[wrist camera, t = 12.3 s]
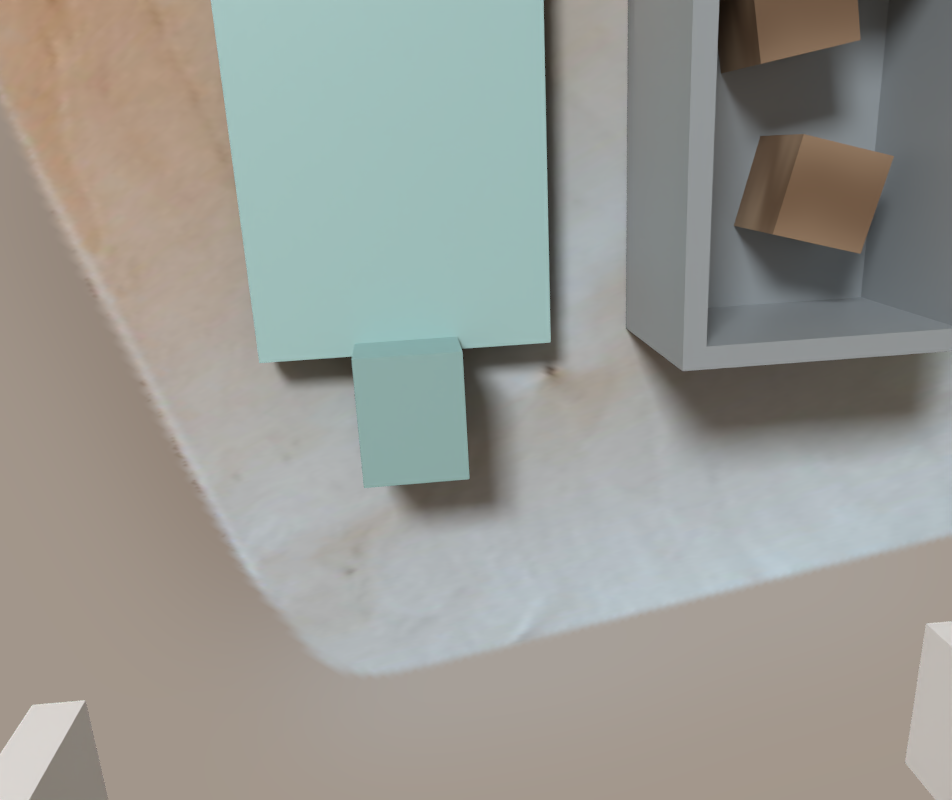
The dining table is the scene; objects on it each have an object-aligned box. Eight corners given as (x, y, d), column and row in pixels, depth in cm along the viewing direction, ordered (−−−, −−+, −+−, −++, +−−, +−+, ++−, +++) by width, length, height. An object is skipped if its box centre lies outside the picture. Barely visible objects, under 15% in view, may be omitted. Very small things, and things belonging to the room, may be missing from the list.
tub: (628, -93, 29) (697, -166, 22) (906, -101, 30) (1053, -174, 23) (625, 328, 34) (682, 371, 27) (866, 311, 35) (978, 349, 28)
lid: (206, -113, 28) (173, -161, 24) (530, -121, 29) (554, -169, 24) (280, 453, 34) (264, 496, 30) (544, 432, 35) (565, 471, 31)
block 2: (760, 135, 31) (803, 134, 28) (841, 155, 32) (894, 155, 28) (734, 225, 32) (772, 234, 29) (813, 243, 33) (860, 253, 29)
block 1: (708, -28, 29) (748, -51, 26) (800, -49, 29) (852, -75, 26) (720, 73, 30) (760, 64, 27) (809, 52, 30) (860, 39, 27)
